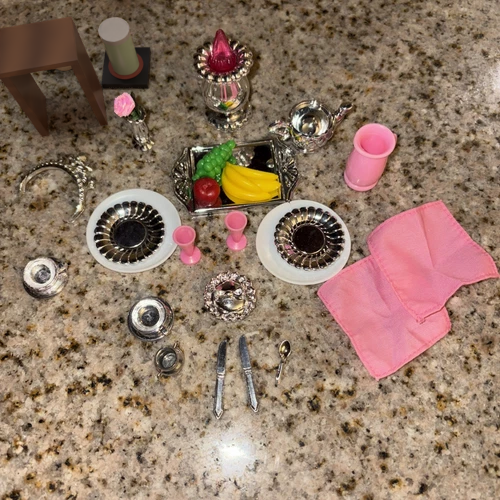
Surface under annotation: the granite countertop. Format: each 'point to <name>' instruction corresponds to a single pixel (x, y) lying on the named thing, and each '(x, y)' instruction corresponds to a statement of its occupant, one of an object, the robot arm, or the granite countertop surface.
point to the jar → (119, 45)
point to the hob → (133, 80)
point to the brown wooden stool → (46, 66)
